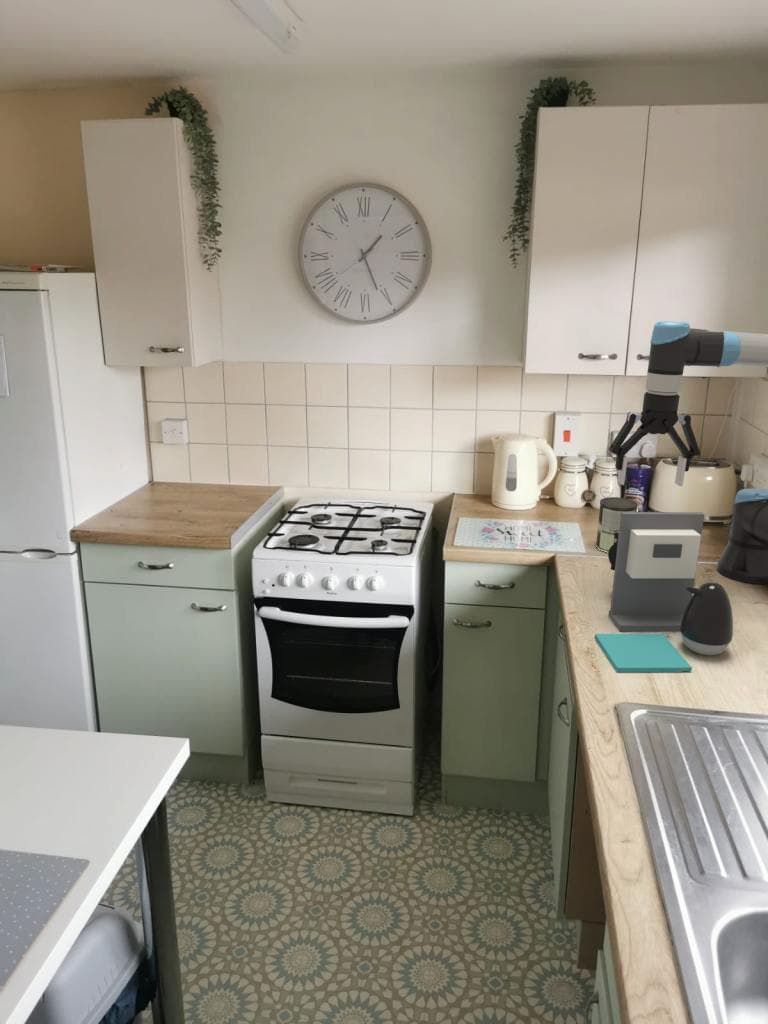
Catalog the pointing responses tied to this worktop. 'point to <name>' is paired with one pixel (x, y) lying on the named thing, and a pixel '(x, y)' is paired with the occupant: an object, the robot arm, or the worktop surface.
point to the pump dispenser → (707, 620)
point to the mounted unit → (654, 570)
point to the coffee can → (611, 519)
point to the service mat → (642, 653)
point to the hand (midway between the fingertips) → (649, 484)
